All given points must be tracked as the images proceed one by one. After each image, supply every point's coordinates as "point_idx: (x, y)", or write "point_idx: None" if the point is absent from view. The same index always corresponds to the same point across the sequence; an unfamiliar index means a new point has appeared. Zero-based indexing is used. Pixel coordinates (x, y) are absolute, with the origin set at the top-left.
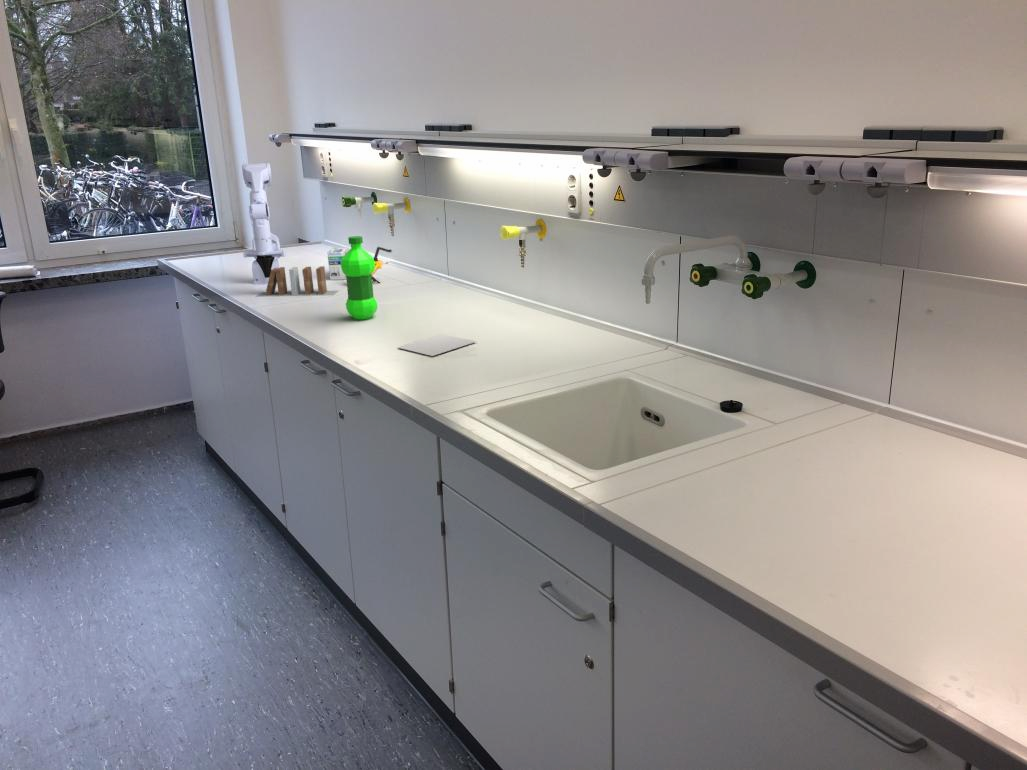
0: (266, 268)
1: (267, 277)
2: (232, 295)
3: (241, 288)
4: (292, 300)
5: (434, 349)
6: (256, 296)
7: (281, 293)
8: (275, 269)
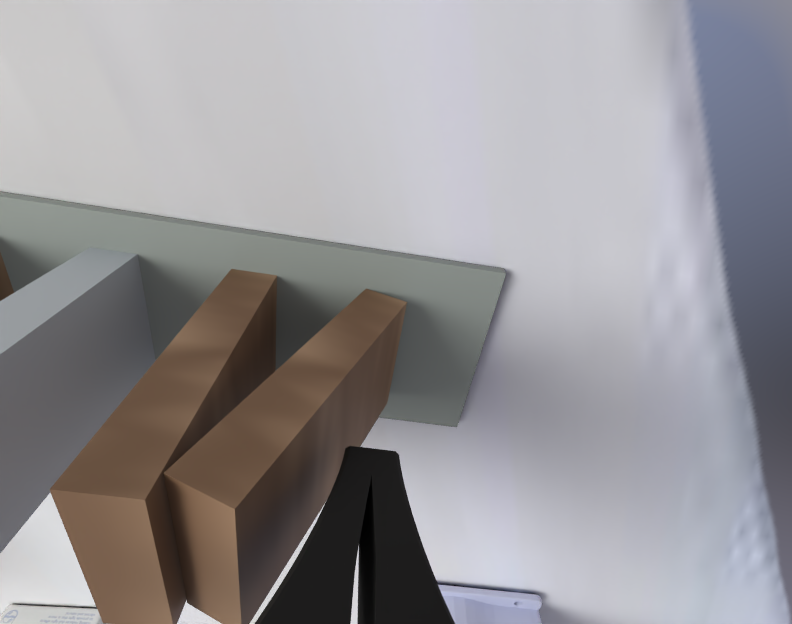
0: (332, 567)
1: (361, 449)
2: (700, 395)
3: (614, 553)
4: (24, 13)
5: None
6: (492, 272)
7: (239, 278)
8: (207, 560)
